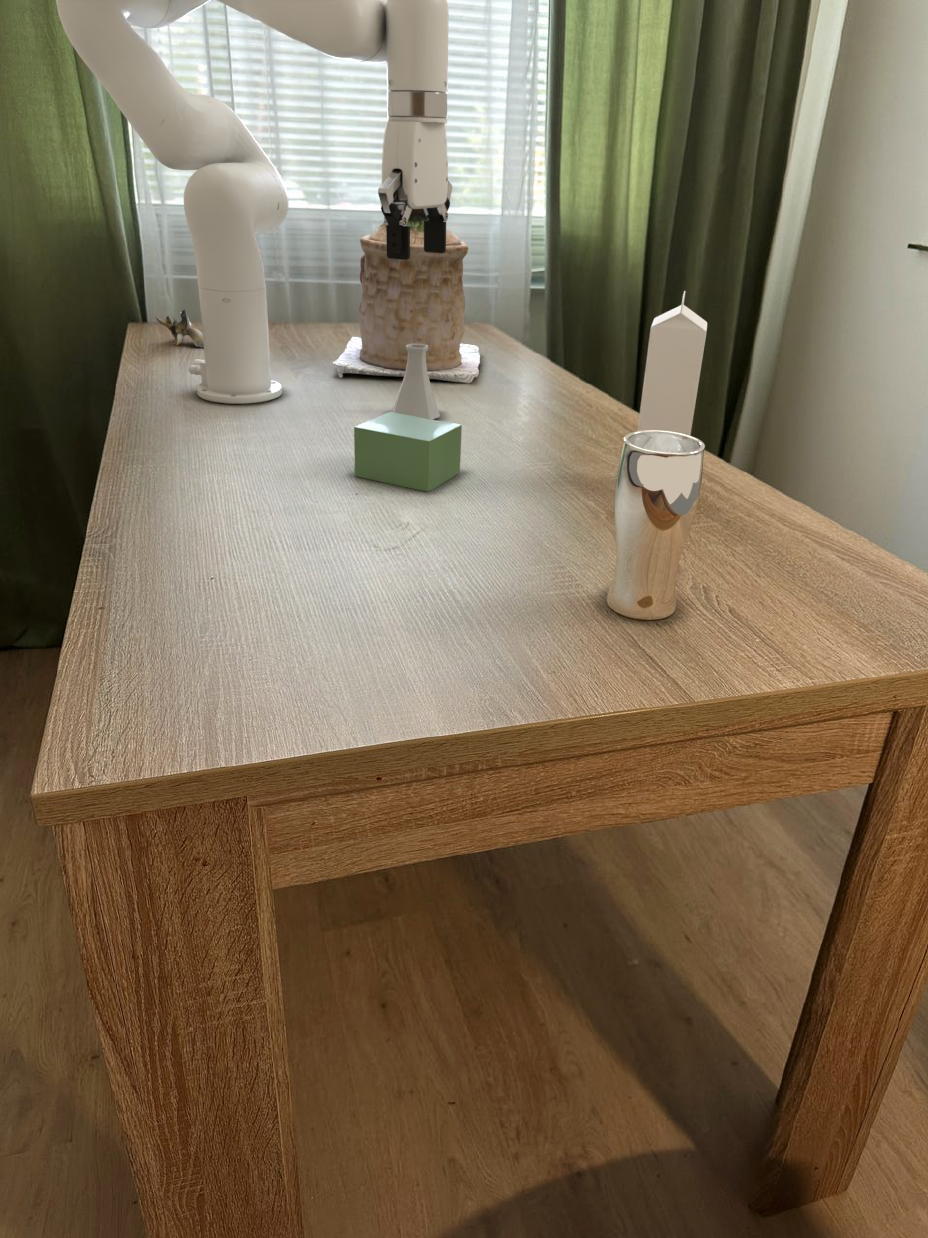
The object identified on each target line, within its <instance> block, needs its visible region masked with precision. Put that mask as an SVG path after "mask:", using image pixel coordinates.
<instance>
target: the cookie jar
mask: <svg viewBox="0 0 928 1238" xmlns="http://www.w3.org/2000/svg"><path fill="white" fill-rule="evenodd" d="M432 209H433V208H432ZM399 211H400V213H401V212H402V210H399ZM424 220H428V219H427V217H426V215H425V212H424V209H412V211H411V214H410V216H409V219H408V222H407V225H406V226H410V258H409V259H408V260H401V259H390V258H388V257H387V233H386V225H385V223H384V222H382V223H381V224H380V225H379V226H378V227H377V228H376V229H375V230H374V231H373V232H372V233H371V234H366V235H364V236H362V237H361V238H360V239H359V242H360V247H361V250H362V252H363V254H362V255H361V257H360V261H359V262H360V273H359V281H360V284H361V294H360V295H361V297H360V303H359V307H358V317H357V318H358V323H359V324H358V326H359V331H360V337H357V336H352V337H351V338H350V340H349V341H348V342H347V344H346V347H345V349H344V351H343V352H341V354H340V355H339V356H338V358H336V359H335V360H333V361H332V365H333V366H334V368H335V369H336V371H337V375H338V377H339V378H340V379H341V378H343V377H344V375H343V374H357V375H368V376H383V377H400V378H401V377H402V378H404V375H405V372H406V367H407V361H408V351H407V349H406V345H408V344H424V345H428V351H426V366H427V373H428V377H429V380H437V381H447V382H453V383H465V384H471V383H472V382H473V380H474V378H478V376H479V374H480V370H479V365H480V364H481V358H482V357H481V355H480V347H478V346H477V345H474V344H468V343H461V342H462V340H463V337H464V333H465V322H466V316H465V311H466V296H465V292H464V282H463V275H464V261H463V260H464V258H465V257H466V256H467V254H468V251H469V245H468V244H467V243H465V242H464V241H462V240H461V239H460V237H458V235H456V234H455V233H454V232H453V231H452V230H449V229H448V228H446V252H445V253H432V252H425V251H424Z"/></svg>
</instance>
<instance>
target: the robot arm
mask: <svg viewBox="0 0 928 1238" xmlns="http://www.w3.org/2000/svg"><path fill="white" fill-rule="evenodd" d="M210 1H212V0H55V4H56V8H57V13H58V17H59V20H60V23H61V25H62V29H63V31H64V33H65V35H66V37H67V39H68V40H69V43H70V44H71V46H72V47H73V49H74V50H75V51H76V53H77V54H78V56H79V57H80V59H81V60H82V61H83V63H84V64H85V66H87V68H88V69H89V70H90V72H91V73H92V74H93V76H94V77H95V78H96V79H97V80H98V81H99V83H100V84H101V85H102V87H103V88H104V89H105V90H106V92H107V94H108V95H109V96H110V98H111V99H112V100H113V102H114V103H115V105H116V106H117V108H118V109H119V110H120V112H121V113H122V115H123V116H124V118H125V119H126V120H127V121H128V123H129V124H130V125H131V127H132V128H133V129H134V131H135V132H136V134H137V135H138V136H139V138H140V139H141V141H142V142H143V143H144V145H145V146H146V147H147V149H148V150H149V151H150V153H151V154H152V155H153V157H154V158H155V159H156V160H157V161H158V162H159V163H160V164H161V165H163V166H164V167H166V168H169V169H171V170H176V171H194V173H192V175H190V177H189V178H188V180H187V182H186V184H185V187H184V191H183V210H184V215H185V219H186V223H187V227H188V230H189V234H190V238H191V243H192V249H193V253H194V260H195V269H196V279H197V287H198V297H199V300H198V301H199V308H200V309H199V310H200V320H201V330H202V331H201V332H202V333H203V344H204V348H203V354H204V359H200V358H196V359H194V360H193V362H192V364H190V365H189V367H188V372H189V374H191V375H196V376H200V378H201V383H199V384H198V385H197V386H196V393H197V396H198V397H199V398H201V399H202V400H205V401H208V402H214V403H219V404H231V405H232V404H234V405H240V404H257V403H263V402H268V401H272V400H275V399H277V398H279V397H280V396H281V395H282V394H283V386H282V385H281V384H280V383H279V382H278V381H275V380H272V372H271V371H272V369H271V354H270V337H269V321H268V303H267V287H266V274H265V273H266V272H265V264H264V261H263V256H262V253H261V250H260V249H261V248H260V247H259V244H258V240H257V237H256V235H261V234H266V233H270V232H273V231H274V230H275V229H277V228H279V226H281V225H282V224H283V222H284V221H285V219H286V217H287V215H288V211H289V195H288V191H287V187H286V184H285V183H284V182H285V181H284V180H283V179H282V176H281V175H280V173H279V171H278V170H277V169H276V167H275V165H274V164H273V163H272V162H271V160H270V159H269V157H268V155H267V154H266V153H265V152H264V150H263V148H262V147H261V146H260V144H259V143H258V142H257V140H256V139H255V137H254V136H253V135H252V133H251V131H250V130H249V129H248V127H247V126H246V125H245V123H244V122H243V121H242V119H241V118H240V117H239V115H237V113H236V112H235V111H234V110H233V109H232V108H231V107H230V106H228V105H227V103H225V102H223V101H222V100H220V99H218V98H216V97H214V96H210V95H205V94H196V93H192V92H189V91H188V90H186V89H185V88H184V87H183V86H182V85H181V84H180V83H179V81H177V79H176V77H174V75H173V74H172V72H171V71H170V70H169V68H168V67H167V66H166V64H165V63H164V61H163V60H162V58H161V57H160V55H159V54H158V53H157V52H156V51H155V49H154V48H152V46H151V45H150V44H149V43H147V41H145V39H144V38H143V37H142V36H140V35H139V33H138V32H136V30H135V29H134V28H133V27H138V28H145V29H160V28H163V27H166V26H168V25H171V24H173V23H175V22H176V21H178V20H180V19H182V18H183V17H185V16H187V15H188V14H190V13H192V12H194V11H195V10H197V9H198V8H201V7H202V6H204V5H206V4H208V3H210ZM216 1H217V2H219V3H221V4H224V5H225V6H227V7H229V8H231V9H232V10H235V11H238V12H239V13H241V14H243V15H244V16H247V17H249V18H251V19H252V20H254V21H255V22H259V23H262V24H263V25H265V26H266V27H269V28H271V29H272V30H274V31H276V32H277V33H279V34H282V35H284V36H285V37H287V38H289V39H290V38H291V39H292V40H294V41H296V42H299V43H301V44H303V45H304V46H307V47H309V48H311V49H313V50H315V51H317V52H319V53H322V54H324V55H326V56H329V57H331V58H334V59H339V60H340V59H341V60H342V59H343V60H346V61H351V62H354V63H360V64H367V65H372V64H374V65H375V64H380V63H385V62H386V87H387V88H386V91H387V92H386V103H387V104H386V106H387V120H386V122H385V128H384V134H383V142H382V154H381V156H382V157H381V177H380V178H381V180H380V181H381V182H380V183H381V184H380V186H379V187H378V188H377V194H378V197H379V201H380V205H381V206H380V210H381V214H382V215H383V223H385V225H386V233H387V257H388V258H390V259H401V260H408V259H409V258H410V226H406V225H407V222H408V219H409V216H410V214H411V211H412V209H424V212H425V215H426V217H427V219H428V220H424V251H425V252H432V253H445V252H446V229H447V221H448V220H449V213H448V212H449V209H450V207H451V196H452V192H453V184H452V183H451V182H450V180H449V163H448V161H449V159H448V142H447V131H446V124H448V79H449V78H448V77H449V75H448V74H449V72H448V71H449V2H448V0H216ZM132 26H133V27H132ZM432 208H433V209H432ZM399 210H402V212H401V213H400V211H399Z"/></svg>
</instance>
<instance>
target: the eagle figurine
mask: <svg viewBox="0 0 928 1238" xmlns="http://www.w3.org/2000/svg"><path fill="white" fill-rule="evenodd" d="M179 312H180V313H179V314H180V318H181V320H180V321H179V322H178V320H177V318H175V317H173V322H172V320H171V318H170V316H169V315H167V316H166V317H165V321H163V320H162V319H160V318H159V317H158V316H155V320H156V321H157V322H158V323H159V324H161V325H163V326H165V327H166V328H167V329H168V331H169V332H171V335H172V336H173V338H174V340H175V341H176V344H175V345H176V346H179V344H181V343H182V342H183V339H184V337H185V336H189V337H190V338H191V340H192V341H193V345H195V347H197V348H203V349H204V344H203V333H202V331H201V330H198V329H197V328H194V327H193V325H192V323H191V321H190V316H189V314H188V312H187V310H186V308H183V309H182V310H181V311H179Z"/></svg>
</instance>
